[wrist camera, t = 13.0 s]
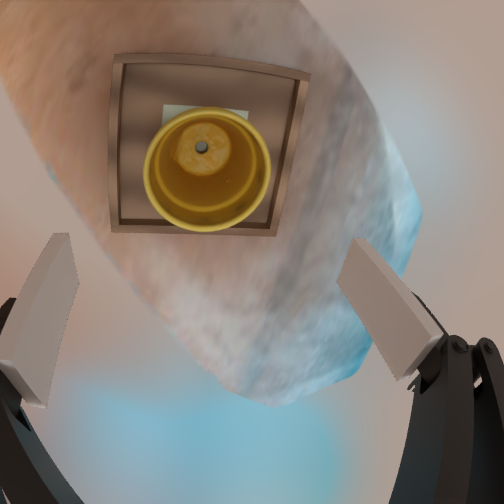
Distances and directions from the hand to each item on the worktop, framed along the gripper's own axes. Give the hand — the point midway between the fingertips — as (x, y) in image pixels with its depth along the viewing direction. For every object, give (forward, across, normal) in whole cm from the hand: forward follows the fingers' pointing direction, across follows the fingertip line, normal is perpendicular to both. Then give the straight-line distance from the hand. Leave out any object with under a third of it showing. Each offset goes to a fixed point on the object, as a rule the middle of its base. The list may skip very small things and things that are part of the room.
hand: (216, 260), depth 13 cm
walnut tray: (+22, 0, 0) cm, 22 cm away
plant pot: (+21, 0, 0) cm, 21 cm away
